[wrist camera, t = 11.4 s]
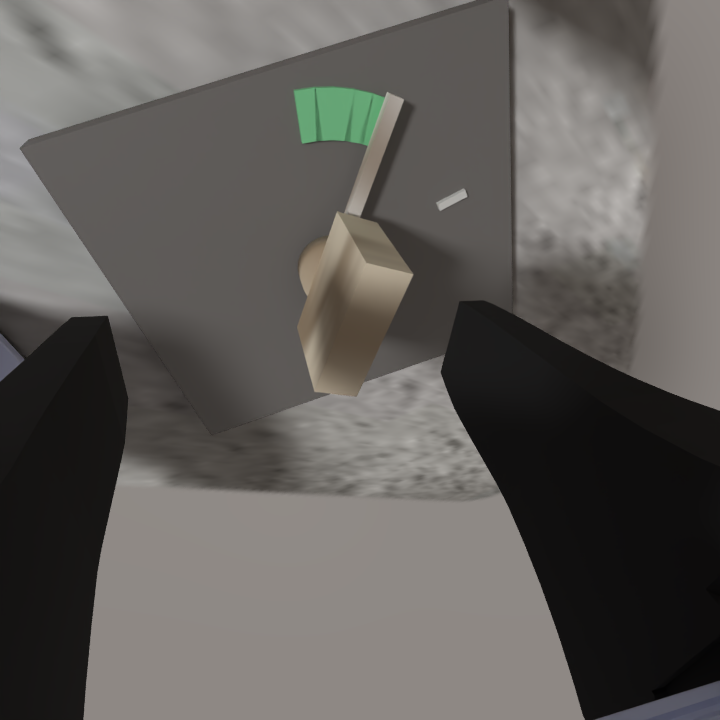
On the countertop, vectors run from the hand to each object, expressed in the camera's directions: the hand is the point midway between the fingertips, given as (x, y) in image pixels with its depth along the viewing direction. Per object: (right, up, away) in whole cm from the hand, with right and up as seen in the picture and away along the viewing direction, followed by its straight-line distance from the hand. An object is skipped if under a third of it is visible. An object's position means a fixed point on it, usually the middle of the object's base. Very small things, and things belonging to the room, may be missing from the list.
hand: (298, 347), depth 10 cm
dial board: (0, +4, +10) cm, 11 cm away
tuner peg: (+1, +5, +8) cm, 10 cm away
